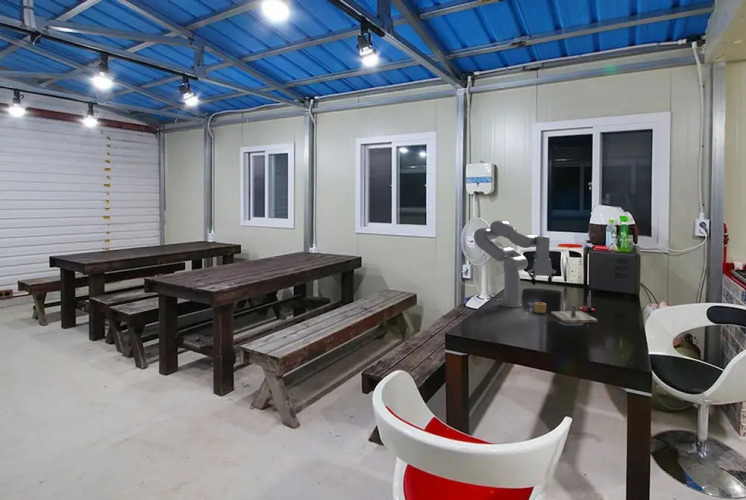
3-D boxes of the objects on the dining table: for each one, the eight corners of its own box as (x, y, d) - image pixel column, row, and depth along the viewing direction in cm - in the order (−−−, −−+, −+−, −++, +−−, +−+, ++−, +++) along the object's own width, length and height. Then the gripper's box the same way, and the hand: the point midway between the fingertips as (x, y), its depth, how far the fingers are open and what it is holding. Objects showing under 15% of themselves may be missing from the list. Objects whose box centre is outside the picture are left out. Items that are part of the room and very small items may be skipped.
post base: (565, 322, 234) (565, 309, 233) (550, 314, 252) (551, 301, 251) (597, 322, 234) (598, 309, 233) (580, 313, 252) (581, 301, 251)
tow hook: (577, 308, 266) (582, 311, 256) (578, 288, 265) (583, 290, 255) (591, 308, 264) (596, 312, 255) (592, 288, 263) (597, 291, 254)
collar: (537, 313, 254) (537, 304, 254) (532, 310, 261) (533, 302, 260) (547, 312, 254) (548, 304, 254) (543, 310, 261) (543, 302, 260)
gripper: (530, 257, 250) (529, 286, 251) (559, 257, 250) (558, 285, 252) (525, 256, 257) (525, 283, 259) (553, 255, 257) (552, 283, 259)
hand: (541, 284), depth 255 cm, fingers open, 9 cm apart
